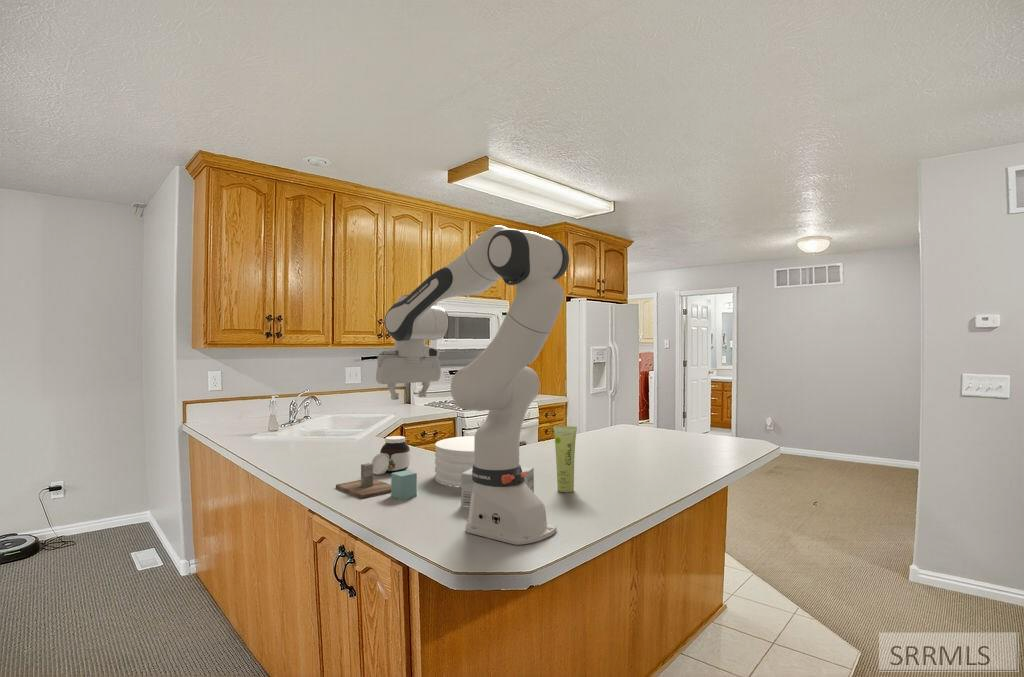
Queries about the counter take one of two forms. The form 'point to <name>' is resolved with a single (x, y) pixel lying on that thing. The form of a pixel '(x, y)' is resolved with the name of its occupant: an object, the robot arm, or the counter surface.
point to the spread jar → (392, 456)
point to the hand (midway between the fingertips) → (408, 398)
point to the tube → (565, 456)
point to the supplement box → (469, 483)
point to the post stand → (365, 484)
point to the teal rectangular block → (403, 484)
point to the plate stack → (453, 459)
